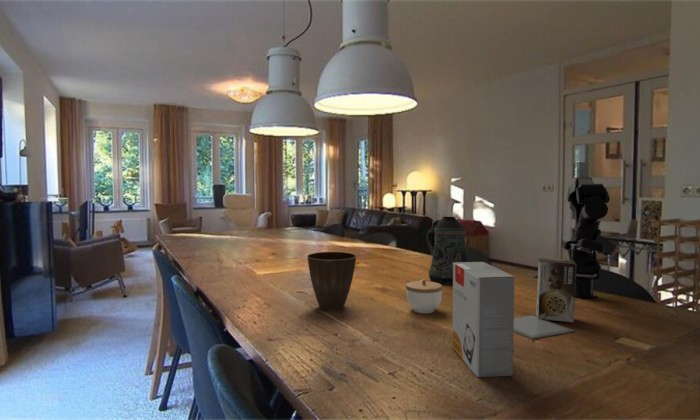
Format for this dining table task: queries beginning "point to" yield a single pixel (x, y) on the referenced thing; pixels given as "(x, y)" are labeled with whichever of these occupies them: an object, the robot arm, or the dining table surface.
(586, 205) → the robot arm
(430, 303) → the lidded jar
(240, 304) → the dining table surface
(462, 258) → the beer stein
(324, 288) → the plant pot
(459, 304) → the hard drive box
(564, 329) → the tile
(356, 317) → the dining table surface
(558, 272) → the coffee box
